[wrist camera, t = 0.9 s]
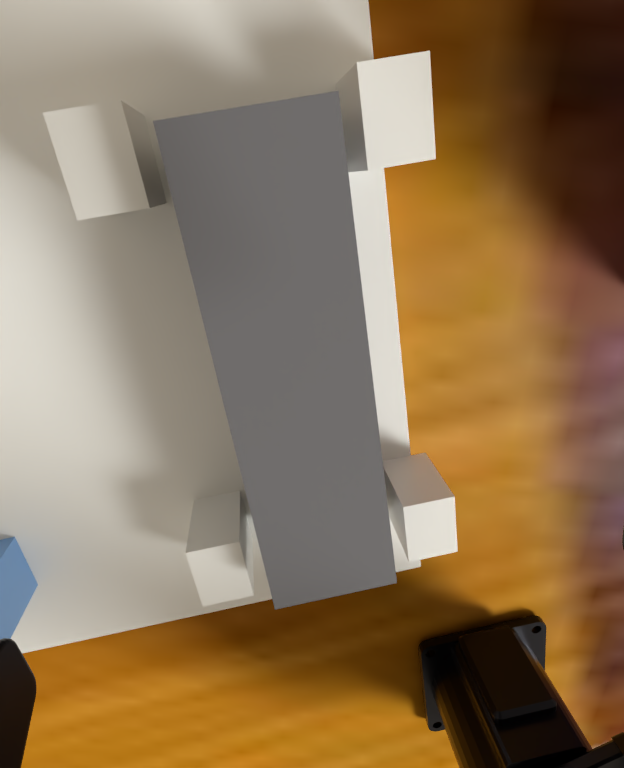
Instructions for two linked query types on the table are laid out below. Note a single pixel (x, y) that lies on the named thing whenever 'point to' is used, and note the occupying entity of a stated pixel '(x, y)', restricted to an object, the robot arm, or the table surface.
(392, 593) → the table surface
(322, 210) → the long grey block
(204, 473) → the board
